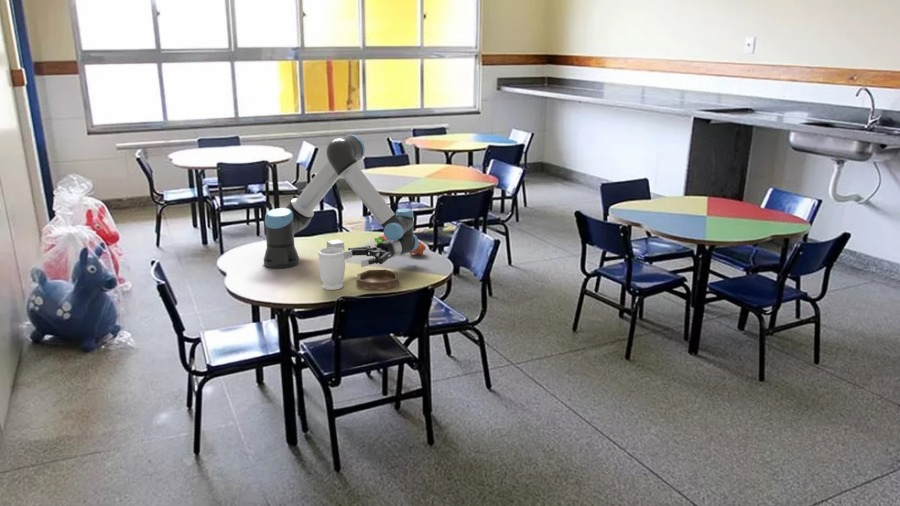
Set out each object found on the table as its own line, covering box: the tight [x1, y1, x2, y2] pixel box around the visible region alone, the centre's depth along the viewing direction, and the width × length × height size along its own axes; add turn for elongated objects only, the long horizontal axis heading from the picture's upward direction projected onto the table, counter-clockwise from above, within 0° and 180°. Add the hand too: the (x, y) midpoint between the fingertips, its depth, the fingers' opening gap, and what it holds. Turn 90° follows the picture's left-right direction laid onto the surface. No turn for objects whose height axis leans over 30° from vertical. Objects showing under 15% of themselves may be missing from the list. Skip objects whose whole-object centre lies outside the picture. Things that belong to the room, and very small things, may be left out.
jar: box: [317, 247, 346, 291], centre depth 271 cm, size 11×10×15 cm
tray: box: [355, 269, 400, 291], centre depth 278 cm, size 17×17×3 cm
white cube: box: [326, 239, 345, 250], centre depth 314 cm, size 6×6×6 cm
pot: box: [409, 241, 426, 257], centre depth 315 cm, size 8×8×7 cm
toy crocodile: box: [374, 235, 388, 246], centre depth 325 cm, size 20×7×6 cm, turn 33°
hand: (350, 260), depth 278 cm, fingers open, 13 cm apart
